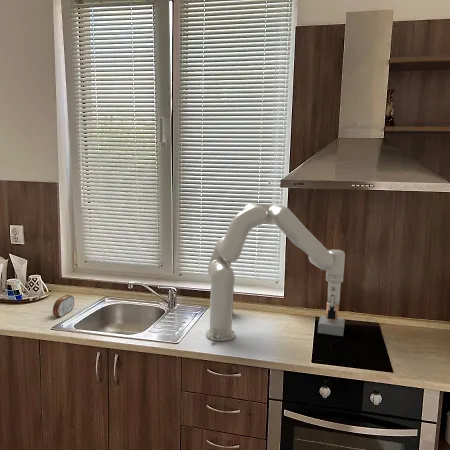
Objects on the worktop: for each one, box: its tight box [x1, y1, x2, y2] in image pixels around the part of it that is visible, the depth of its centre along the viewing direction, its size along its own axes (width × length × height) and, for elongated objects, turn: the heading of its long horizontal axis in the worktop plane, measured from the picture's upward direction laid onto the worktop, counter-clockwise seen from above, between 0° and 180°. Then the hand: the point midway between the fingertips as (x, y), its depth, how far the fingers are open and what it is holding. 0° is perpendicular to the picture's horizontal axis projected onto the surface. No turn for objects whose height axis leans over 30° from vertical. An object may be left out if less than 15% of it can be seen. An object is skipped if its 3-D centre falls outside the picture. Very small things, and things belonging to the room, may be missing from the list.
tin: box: [52, 294, 75, 318], centre depth 214 cm, size 15×3×8 cm, turn 168°
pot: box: [325, 301, 340, 320], centre depth 203 cm, size 6×6×7 cm
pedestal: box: [317, 315, 346, 337], centre depth 204 cm, size 11×11×4 cm
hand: (331, 316), depth 204 cm, fingers closed on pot, 5 cm apart
